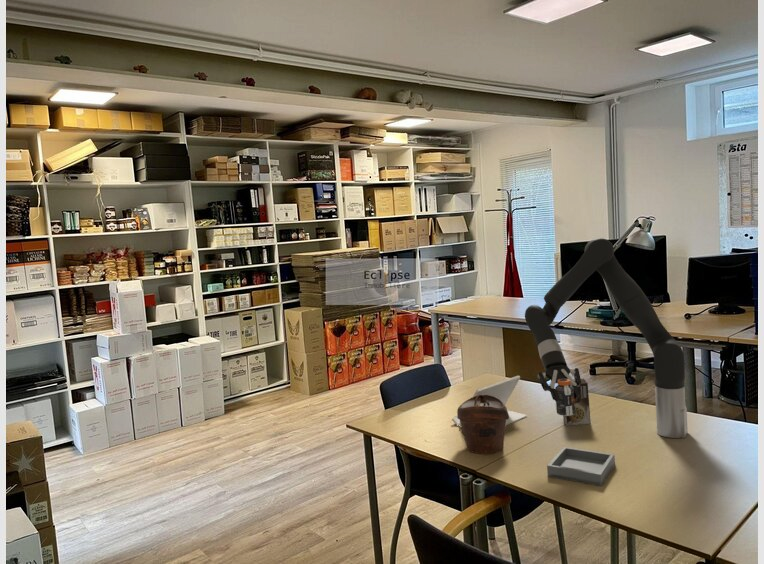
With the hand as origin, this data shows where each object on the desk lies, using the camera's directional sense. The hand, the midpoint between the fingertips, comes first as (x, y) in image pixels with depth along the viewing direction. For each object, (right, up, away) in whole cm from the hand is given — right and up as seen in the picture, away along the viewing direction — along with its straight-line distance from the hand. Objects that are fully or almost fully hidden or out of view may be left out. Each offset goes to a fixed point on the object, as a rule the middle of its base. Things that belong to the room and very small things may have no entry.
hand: (567, 399), depth 188 cm
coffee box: (+14, -16, +33) cm, 39 cm away
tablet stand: (-17, -18, +44) cm, 50 cm away
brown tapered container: (-24, -21, +18) cm, 36 cm away
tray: (+2, -21, -8) cm, 22 cm away
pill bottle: (0, -5, +2) cm, 6 cm away
